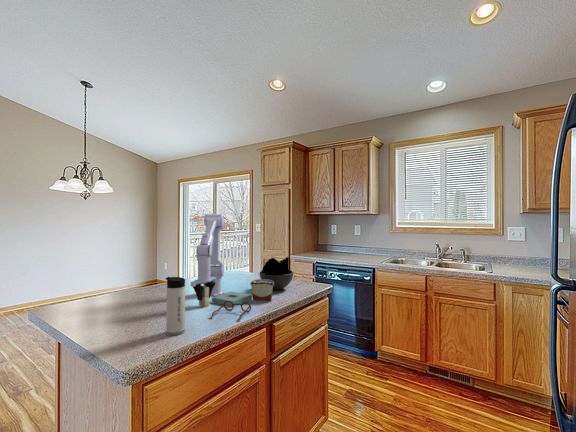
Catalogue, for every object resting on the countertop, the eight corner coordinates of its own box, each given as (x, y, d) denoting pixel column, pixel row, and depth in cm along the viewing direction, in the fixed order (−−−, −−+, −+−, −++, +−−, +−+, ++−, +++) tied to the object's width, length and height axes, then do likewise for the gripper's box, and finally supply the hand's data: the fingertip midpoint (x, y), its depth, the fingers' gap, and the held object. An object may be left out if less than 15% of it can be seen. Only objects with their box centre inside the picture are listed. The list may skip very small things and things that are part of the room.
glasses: (251, 313, 127) (251, 301, 127) (238, 323, 114) (238, 310, 114) (224, 310, 130) (224, 299, 130) (209, 320, 118) (209, 308, 118)
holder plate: (211, 302, 141) (211, 297, 141) (230, 296, 153) (230, 291, 153) (233, 306, 134) (233, 301, 134) (251, 299, 146) (251, 294, 146)
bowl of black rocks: (255, 292, 160) (255, 259, 161) (264, 284, 180) (264, 254, 180) (290, 294, 157) (290, 260, 157) (295, 286, 177) (295, 255, 177)
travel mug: (168, 329, 107) (169, 275, 107) (186, 328, 107) (187, 275, 108) (162, 336, 101) (163, 279, 101) (182, 335, 101) (182, 278, 101)
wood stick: (199, 306, 136) (199, 287, 136) (202, 304, 138) (203, 286, 138) (205, 307, 134) (205, 288, 134) (208, 306, 136) (209, 287, 136)
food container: (275, 298, 149) (276, 279, 149) (274, 301, 143) (274, 281, 143) (252, 297, 150) (252, 278, 150) (249, 301, 144) (250, 281, 144)
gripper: (198, 273, 128) (198, 303, 127) (221, 268, 140) (221, 296, 140) (187, 271, 131) (187, 301, 131) (210, 267, 144) (210, 294, 144)
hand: (204, 298), depth 136 cm, fingers open, 5 cm apart
